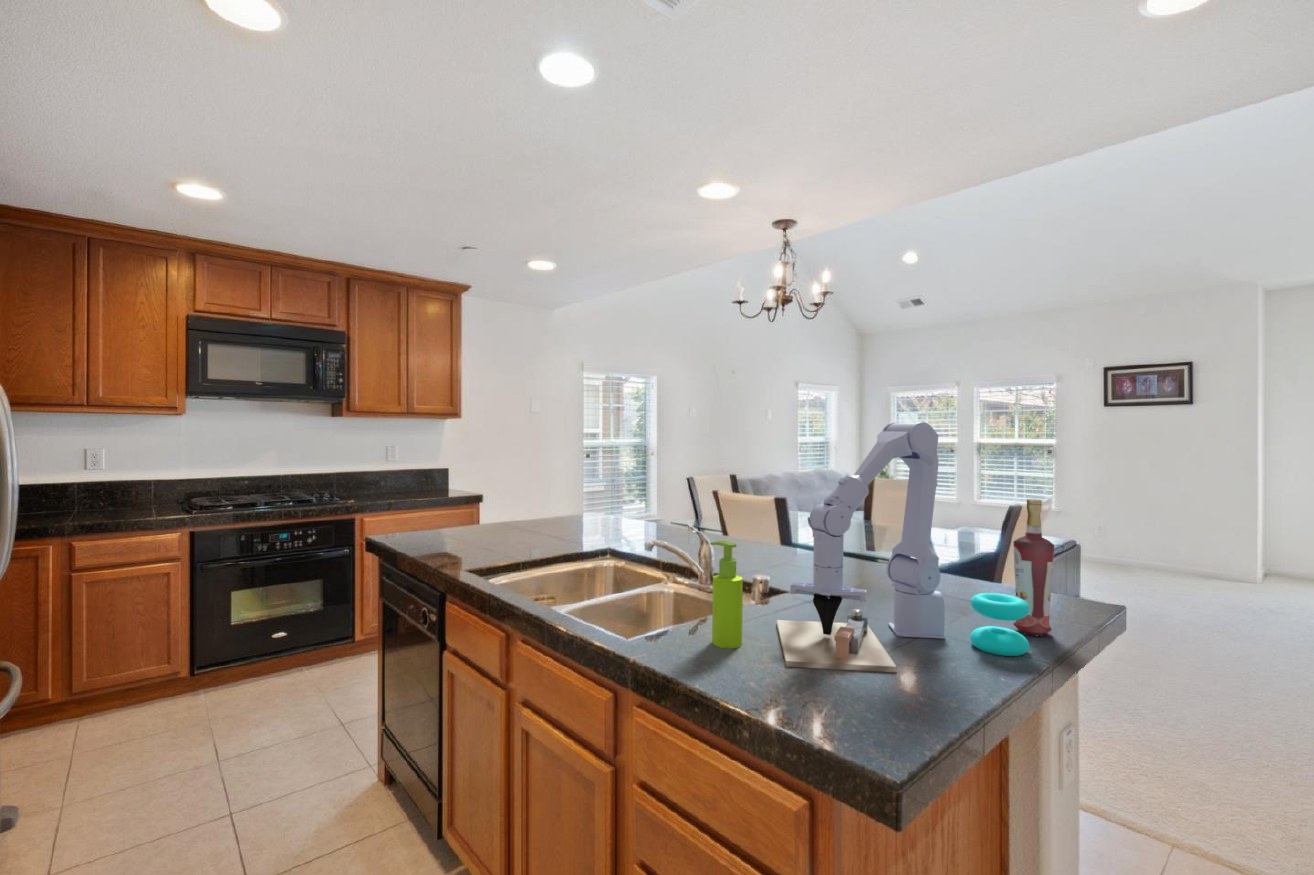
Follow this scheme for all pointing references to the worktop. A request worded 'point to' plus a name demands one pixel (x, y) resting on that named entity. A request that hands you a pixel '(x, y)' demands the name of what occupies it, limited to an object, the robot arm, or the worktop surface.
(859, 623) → the link
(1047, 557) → the liquor
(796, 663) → the hinge board
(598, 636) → the worktop surface
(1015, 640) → the donuts
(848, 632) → the block
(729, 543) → the soap dispenser
